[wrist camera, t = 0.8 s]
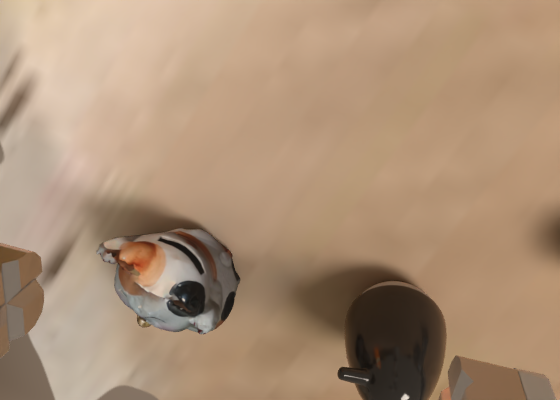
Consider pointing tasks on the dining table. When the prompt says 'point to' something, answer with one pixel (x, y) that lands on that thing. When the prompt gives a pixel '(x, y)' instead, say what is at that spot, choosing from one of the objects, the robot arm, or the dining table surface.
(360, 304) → the pump dispenser
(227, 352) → the dining table surface
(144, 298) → the lucky cat figurine
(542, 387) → the robot arm
